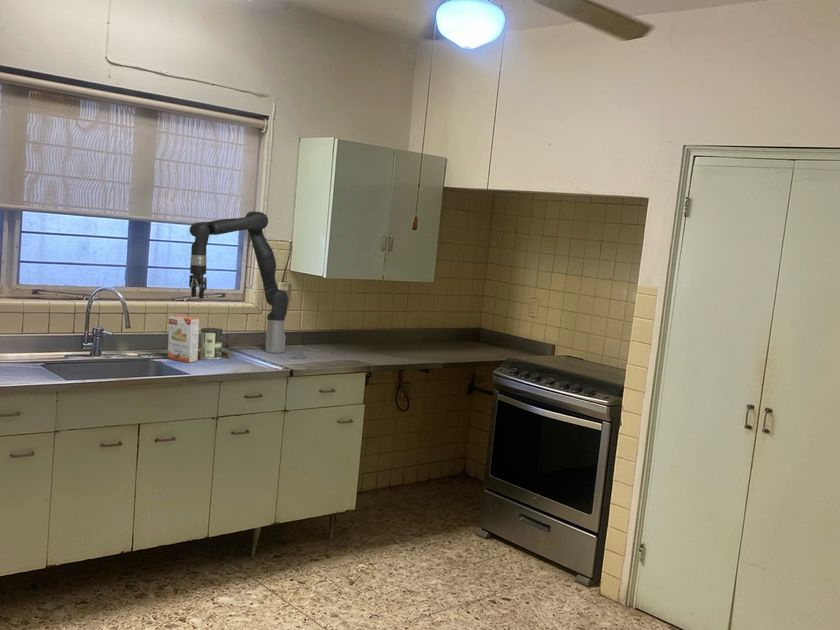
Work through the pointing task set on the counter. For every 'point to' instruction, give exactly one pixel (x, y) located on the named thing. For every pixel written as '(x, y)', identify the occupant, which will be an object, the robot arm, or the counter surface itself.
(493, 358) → the counter surface
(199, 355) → the chute
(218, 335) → the coffee can
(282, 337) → the robot arm
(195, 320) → the cracker box
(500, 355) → the counter surface
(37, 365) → the counter surface
